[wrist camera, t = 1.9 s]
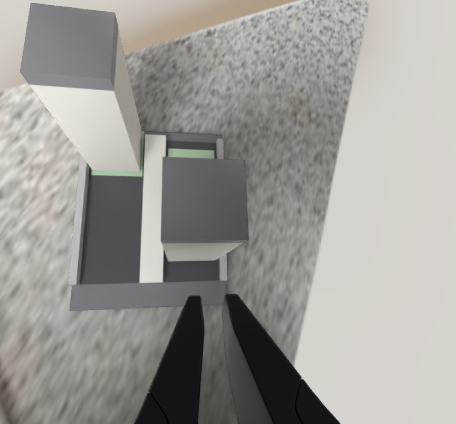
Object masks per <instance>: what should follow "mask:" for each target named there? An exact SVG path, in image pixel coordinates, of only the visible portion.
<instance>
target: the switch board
mask: <svg viewBox="0 0 456 424" xmlns="http://www.w3.org/2000/svg"><path fill="white" fill-rule="evenodd" d="M141 131H142V130H141ZM163 157H184V158H208V159H224V145H223V139H222V135H205V134H187V133H169V132H151V131H142V134H141V158H140V172H127V171H96V170H92V169H91V168H90V166H89V165H88V163H87V162H86V161H85V159H84V158H83V157H82V155H81V154H80V163H79V174H78V185H77V196H76V206H75V217H74V228H73V239H72V250H71V260H70V271H69V282H68V285H72V292H71V303H70V311H80V310H103V309H126V308H150V307H173V306H184V305H185V302H186V300H187V298H188V296H190V295H200V296H201V300H202V305H220V304H223V302H224V296H225V295H226V280H227V253H226V254H225V255H223V256H222V257H220V258H218V259H217V260H215V261H168V259H167V257H166V254H165V251H164V248H163V245H162V243H161V202H162V159H163Z"/></svg>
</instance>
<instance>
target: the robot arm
mask: <svg viewBox="0 0 456 424" xmlns="http://www.w3.org/2000/svg"><path fill="white" fill-rule="evenodd" d="M222 321H223V333H224V344H225V356H226V364H227V370H228V375H229V380H230V385H231V390H232V395H233V400H234V405H235V410H236V415H237V420H238V424H340V422H339V421H338V420H337V419H336V418H335V417H334V416H333V415H332V414H331V413H330V411H329V410H328V409H327V408H326V407H325V406H324V405H323V404H322V402H321V401H320V400H319V398H318V397H317V396H316V395H315V394H314V392H313V391H312V390H311V389H310V387H309V386H308V385H307V383H306V382H305V381H304V380H303V379H301V376H300V374H299V373H298V372H297V371H296V369H295V368H294V367H293V365H292V364H291V363H290V362H289V360H288V359H287V358H286V356H285V355H284V354H283V353H282V351H281V350H280V349H279V347H278V346H277V345H276V344H275V342H274V341H273V340H272V338H271V337H270V336H269V335H268V333H267V332H266V331H265V329H264V328H263V327H262V326H261V324H260V323H259V322H258V320H257V319H256V318H255V317H254V315H253V314H252V313H251V311H250V310H249V309H248V307H247V306H246V305H245V304H244V302H243V301H242V300H241V298H240V297H239V296H238V295H237V294H226V295H225V296H224V302H223V309H222ZM203 344H204V317H203V308H202V300H201V296H200V295H190V296H188V298H187V300H186V302H185V305H184V307H183V310H182V312H181V314H180V317H179V319H178V322H177V324H176V326H175V329H174V331H173V333H172V336H171V338H170V341H169V343H168V345H167V348H166V350H165V353H164V355H163V357H162V360H161V362H160V364H159V367H158V369H157V372H156V374H155V376H154V379H153V381H152V384H151V386H150V388H149V393H147V395H146V397H145V400H144V402H143V405H142V407H141V409H140V411H139V414H138V416H137V418H136V420H135V422H134V424H198V412H199V399H200V385H201V371H202V358H203Z"/></svg>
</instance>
